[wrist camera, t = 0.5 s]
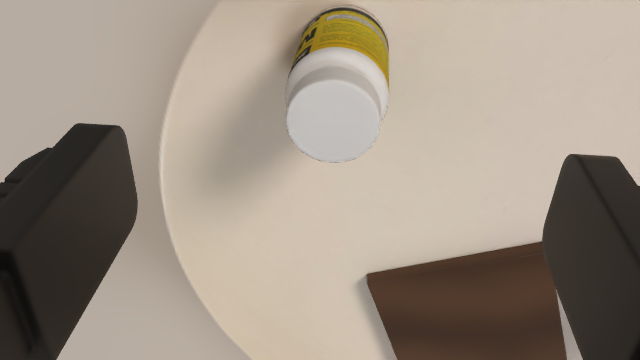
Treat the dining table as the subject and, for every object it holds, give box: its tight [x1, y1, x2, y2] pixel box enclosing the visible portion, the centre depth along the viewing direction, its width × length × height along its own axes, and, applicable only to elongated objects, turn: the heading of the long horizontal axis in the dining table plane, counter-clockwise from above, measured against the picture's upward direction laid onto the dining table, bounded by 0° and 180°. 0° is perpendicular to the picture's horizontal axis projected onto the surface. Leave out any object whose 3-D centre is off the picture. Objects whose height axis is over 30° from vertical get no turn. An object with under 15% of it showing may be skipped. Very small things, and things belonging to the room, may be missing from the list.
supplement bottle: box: [286, 6, 389, 163], centre depth 27 cm, size 5×5×8 cm
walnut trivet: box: [367, 242, 567, 360], centre depth 41 cm, size 12×12×1 cm
